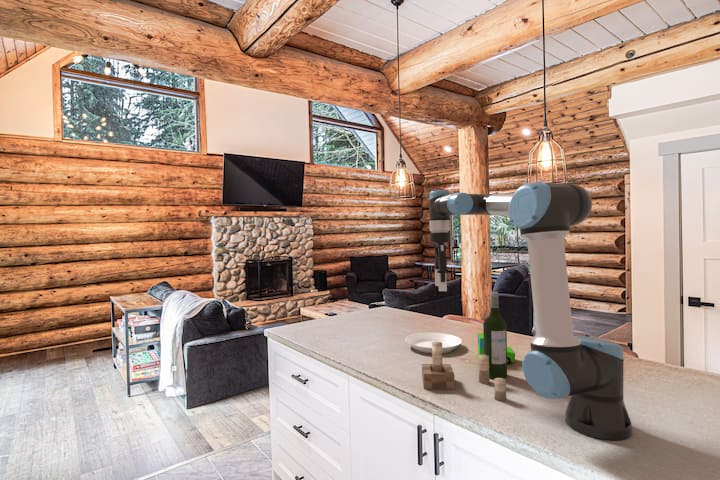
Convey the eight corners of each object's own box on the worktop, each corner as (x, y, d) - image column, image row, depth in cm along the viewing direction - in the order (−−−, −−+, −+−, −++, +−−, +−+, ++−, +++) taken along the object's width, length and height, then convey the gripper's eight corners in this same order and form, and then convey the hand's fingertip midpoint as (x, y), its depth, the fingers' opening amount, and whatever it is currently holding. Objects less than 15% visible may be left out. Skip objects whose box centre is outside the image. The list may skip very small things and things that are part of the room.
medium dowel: (490, 383, 136) (489, 357, 136) (480, 383, 136) (479, 357, 136) (488, 380, 139) (487, 354, 139) (478, 380, 140) (477, 354, 139)
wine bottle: (496, 370, 149) (495, 290, 148) (512, 377, 141) (511, 293, 141) (479, 373, 146) (478, 291, 145) (493, 381, 138) (492, 294, 138)
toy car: (516, 366, 153) (515, 340, 153) (480, 364, 156) (479, 339, 156) (511, 357, 163) (511, 333, 163) (477, 356, 166) (477, 332, 166)
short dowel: (507, 401, 122) (507, 382, 122) (496, 401, 122) (496, 381, 122) (504, 396, 125) (504, 377, 125) (493, 396, 126) (493, 377, 125)
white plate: (402, 354, 171) (401, 346, 171) (409, 339, 195) (408, 331, 195) (462, 357, 165) (462, 349, 165) (461, 341, 189) (461, 333, 189)
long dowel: (443, 385, 135) (442, 344, 135) (433, 385, 136) (432, 344, 135) (442, 381, 139) (441, 341, 138) (432, 381, 139) (431, 341, 139)
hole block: (454, 389, 132) (454, 374, 132) (424, 388, 133) (423, 373, 133) (450, 378, 142) (450, 364, 142) (422, 377, 143) (421, 363, 143)
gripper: (454, 231, 137) (455, 293, 138) (445, 231, 162) (446, 283, 162) (432, 232, 138) (433, 293, 138) (427, 232, 163) (428, 283, 163)
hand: (440, 288), depth 150 cm, fingers open, 13 cm apart
